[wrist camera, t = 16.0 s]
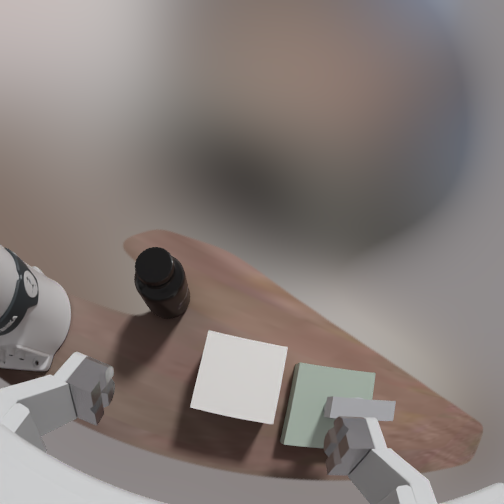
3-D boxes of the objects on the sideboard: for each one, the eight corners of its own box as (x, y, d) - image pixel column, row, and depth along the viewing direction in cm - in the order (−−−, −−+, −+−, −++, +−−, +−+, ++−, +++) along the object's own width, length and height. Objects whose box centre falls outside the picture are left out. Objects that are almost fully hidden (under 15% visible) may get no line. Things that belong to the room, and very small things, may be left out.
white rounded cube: (195, 405, 37) (189, 407, 31) (210, 340, 42) (208, 330, 36) (264, 420, 37) (273, 424, 31) (277, 355, 42) (287, 347, 36)
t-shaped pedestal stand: (279, 441, 36) (302, 457, 25) (295, 364, 41) (322, 351, 30) (355, 447, 36) (399, 458, 24) (367, 374, 41) (412, 363, 30)
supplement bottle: (195, 313, 44) (187, 284, 33) (152, 324, 42) (130, 298, 32) (185, 273, 47) (175, 233, 36) (144, 283, 45) (123, 247, 34)
